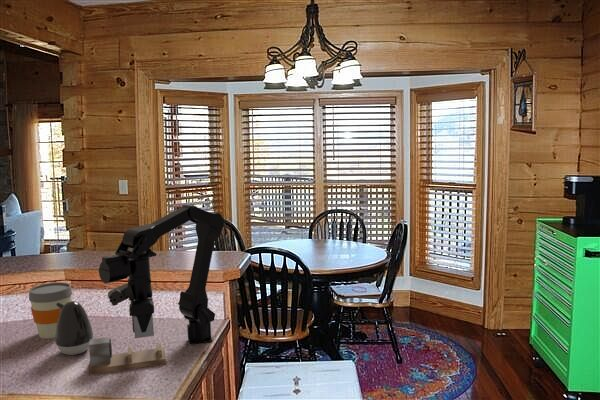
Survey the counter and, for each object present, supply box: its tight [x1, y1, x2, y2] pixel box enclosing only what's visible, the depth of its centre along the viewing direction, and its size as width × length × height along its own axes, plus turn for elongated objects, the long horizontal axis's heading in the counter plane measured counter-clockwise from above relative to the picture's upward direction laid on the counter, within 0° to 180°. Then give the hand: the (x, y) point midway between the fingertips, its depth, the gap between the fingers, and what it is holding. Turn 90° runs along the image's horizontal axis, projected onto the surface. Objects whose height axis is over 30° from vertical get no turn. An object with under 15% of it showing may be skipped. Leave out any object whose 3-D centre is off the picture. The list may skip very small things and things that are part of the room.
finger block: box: [131, 314, 155, 339], centre depth 149 cm, size 5×4×6 cm
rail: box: [87, 336, 167, 376], centre depth 149 cm, size 20×8×8 cm, turn 107°
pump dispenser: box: [54, 300, 94, 356], centre depth 157 cm, size 10×10×15 cm
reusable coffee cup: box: [28, 281, 73, 340], centre depth 172 cm, size 13×13×15 cm
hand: (143, 329), depth 149 cm, fingers closed on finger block, 4 cm apart
